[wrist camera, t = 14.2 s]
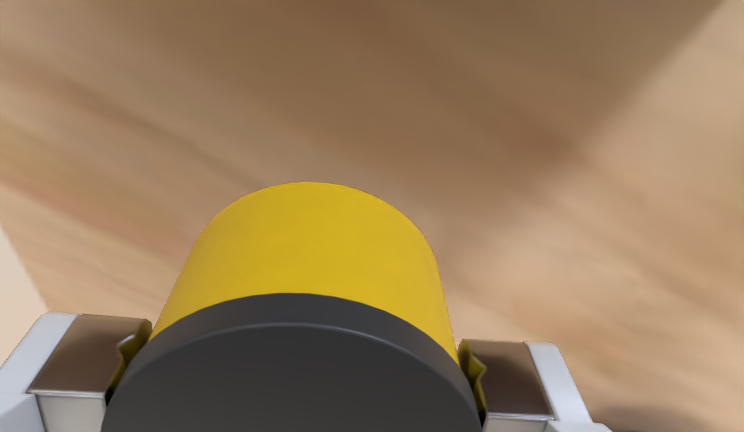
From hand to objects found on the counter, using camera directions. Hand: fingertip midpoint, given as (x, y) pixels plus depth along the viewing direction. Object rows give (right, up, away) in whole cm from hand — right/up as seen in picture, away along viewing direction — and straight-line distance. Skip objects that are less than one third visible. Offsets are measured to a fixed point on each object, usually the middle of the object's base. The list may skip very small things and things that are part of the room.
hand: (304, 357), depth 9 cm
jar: (0, +1, +2) cm, 2 cm away
